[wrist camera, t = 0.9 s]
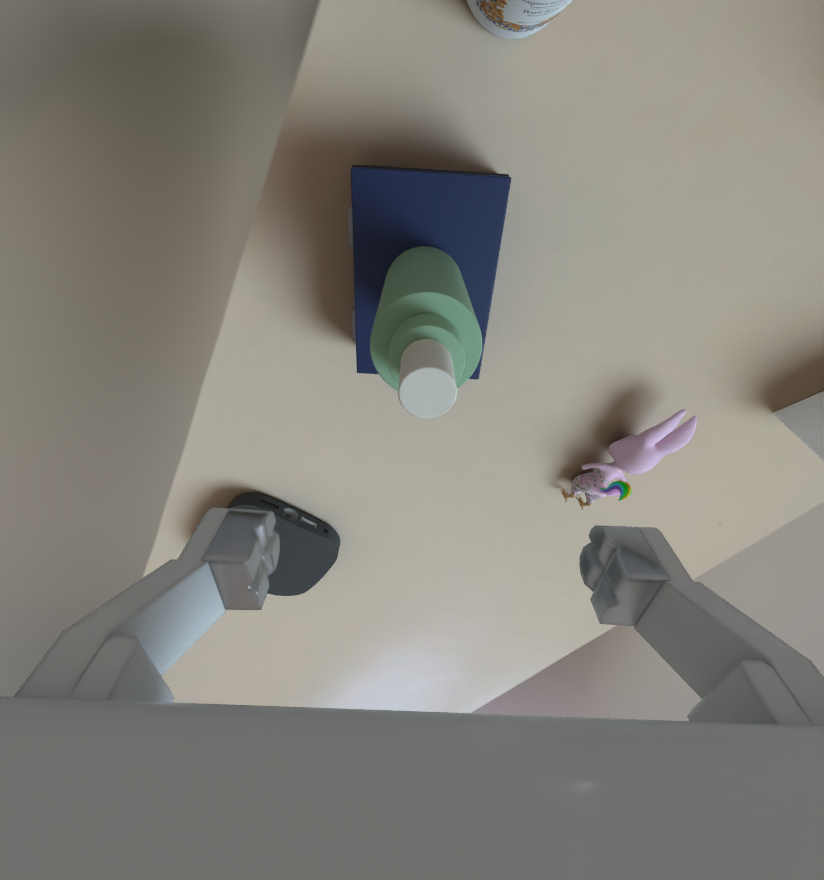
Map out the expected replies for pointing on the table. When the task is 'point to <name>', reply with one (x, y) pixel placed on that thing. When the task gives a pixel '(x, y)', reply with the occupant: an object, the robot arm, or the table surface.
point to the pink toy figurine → (632, 459)
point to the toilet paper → (806, 421)
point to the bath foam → (515, 15)
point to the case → (423, 234)
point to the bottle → (425, 331)
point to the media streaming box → (295, 545)
